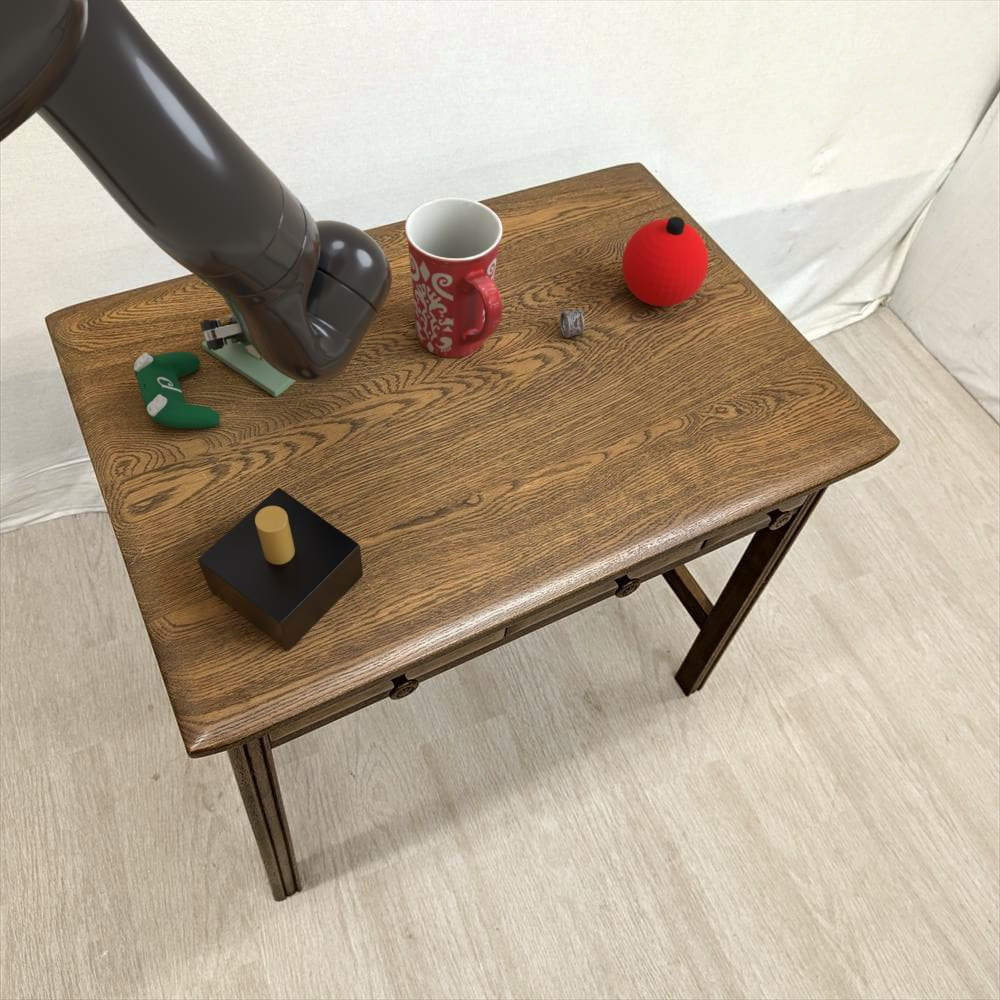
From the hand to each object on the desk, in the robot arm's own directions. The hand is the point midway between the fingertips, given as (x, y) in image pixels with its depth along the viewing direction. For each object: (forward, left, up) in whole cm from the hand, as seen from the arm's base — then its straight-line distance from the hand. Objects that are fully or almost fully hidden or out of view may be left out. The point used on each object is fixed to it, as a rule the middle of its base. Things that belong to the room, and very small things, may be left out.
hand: (268, 321), depth 90 cm
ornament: (+31, -28, -2) cm, 42 cm away
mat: (-1, -2, -2) cm, 2 cm away
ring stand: (-20, -22, -2) cm, 29 cm away
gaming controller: (-12, 0, -2) cm, 12 cm away
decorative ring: (+20, -24, -2) cm, 31 cm away
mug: (+11, -16, -2) cm, 19 cm away
